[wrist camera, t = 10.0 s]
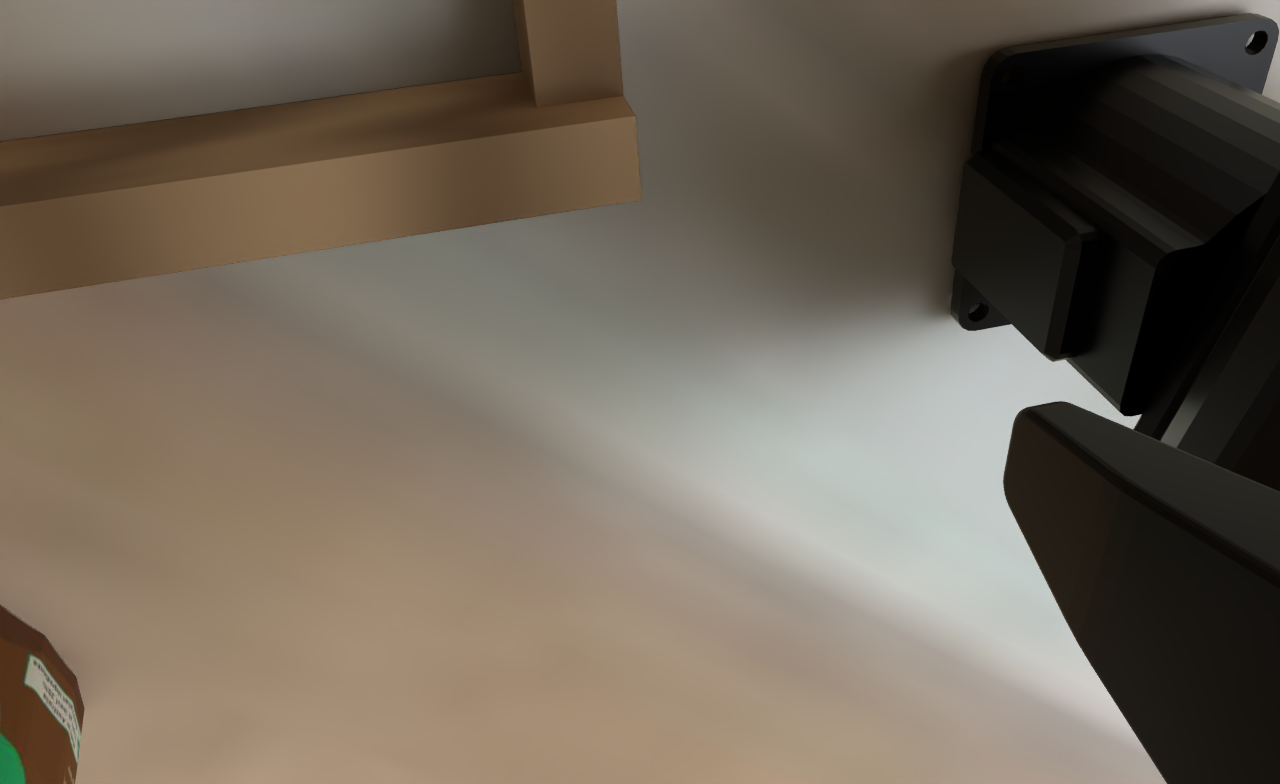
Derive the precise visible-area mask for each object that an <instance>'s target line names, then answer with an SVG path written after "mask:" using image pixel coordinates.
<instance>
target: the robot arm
mask: <svg viewBox="0 0 1280 784" xmlns="http://www.w3.org/2000/svg"><path fill="white" fill-rule="evenodd" d="M1253 33H1254V38H1253V40H1252V42H1251V43H1250V44H1249V45H1248V46H1247V47H1246V48H1245V45H1246V43H1247V41H1248V39H1249V37H1250V36H1251V35H1252V34H1253ZM1278 34H1279V29H1278V26H1277V23H1275V22H1274V21H1273V20H1272V19H1270V18H1267V17H1264V16H1262V15H1259V14H1252V13H1249V14H1242V15H1235V16H1228V17H1221V18H1213V19H1206V20H1199V21H1192V22H1185V23H1178V24H1171V25H1164V26H1157V27H1149V28H1142V29H1135V30H1128V31H1121V32H1114V33H1107V34H1100V35H1093V36H1085V37H1078V38H1071V39H1064V40H1057V41H1050V42H1043V43H1036V44H1029V45H1021V46H1014V47H1007V48H1004V49H1001V50H999V51H997V52H996V53H995V54H993V55H992V56H991V57H990V58H989V59H988V61H987V62H986V64H985V65H984V68H983V71H982V74H981V80H980V87H979V95H978V103H977V110H976V118H975V125H974V133H973V141H972V148H971V154H970V156H969V157H968V159H967V160H966V162H965V164H964V168H963V175H962V183H961V191H960V199H959V207H958V214H957V222H956V230H955V238H954V246H953V253H952V265H953V266H954V267H955V268H956V270H955V278H954V285H953V293H952V300H951V315H952V316H953V318H954V319H955V320H956V321H957V322H958V323H959V325H960V326H961V327H962V328H964V329H966V330H968V331H976V330H982V329H987V328H993V327H998V326H1004V325H1009V324H1012V325H1013V326H1014V327H1015V328H1016V329H1017V330H1018V331H1019V332H1020V333H1021V334H1022V335H1023V336H1024V337H1025V338H1026V339H1027V340H1028V341H1029V342H1030V343H1031V344H1033V345H1034V346H1035V347H1036V348H1037V349H1038V350H1039V351H1040V352H1041V353H1042V354H1043V355H1044V356H1045V357H1046V358H1047V359H1049V360H1051V361H1052V362H1054V361H1060V360H1066V361H1068V362H1069V363H1070V364H1071V365H1072V366H1073V367H1074V368H1075V369H1076V370H1077V371H1078V372H1079V373H1080V374H1081V375H1082V376H1083V377H1084V378H1085V379H1086V380H1087V381H1088V382H1089V383H1090V384H1091V385H1092V386H1093V387H1094V388H1096V389H1097V390H1098V391H1099V392H1100V393H1101V394H1102V395H1103V396H1104V397H1105V398H1106V399H1107V400H1108V401H1109V402H1110V403H1111V404H1112V405H1113V406H1114V407H1115V408H1116V409H1117V410H1118V411H1119V412H1120V413H1122V414H1123V415H1124V416H1135V415H1140V414H1142V415H1141V417H1140V419H1139V420H1138V422H1137V424H1136V426H1135V427H1134V429H1130V428H1128V427H1125V426H1123V425H1121V424H1118V423H1116V422H1114V421H1111V420H1109V419H1106V418H1104V417H1102V416H1099V415H1097V414H1095V413H1092V412H1090V411H1087V410H1085V409H1083V408H1080V407H1078V406H1076V405H1073V404H1071V403H1068V402H1062V401H1061V402H1052V403H1047V404H1042V405H1037V406H1032V407H1027V408H1025V409H1023V410H1021V411H1020V412H1019V413H1018V414H1017V416H1016V418H1015V420H1014V424H1013V428H1012V434H1011V439H1010V445H1009V450H1008V455H1007V461H1006V466H1005V471H1004V479H1003V484H1004V492H1005V496H1006V500H1007V502H1008V505H1009V507H1010V509H1011V511H1012V513H1013V515H1014V517H1015V519H1016V521H1017V523H1018V525H1019V527H1020V529H1021V531H1022V533H1023V535H1024V537H1025V539H1026V541H1027V543H1028V545H1029V547H1030V549H1031V551H1032V554H1033V556H1034V558H1035V560H1036V562H1037V564H1038V566H1039V568H1040V570H1041V572H1042V574H1043V576H1044V578H1045V580H1046V582H1047V584H1048V586H1049V588H1050V590H1051V592H1052V594H1053V596H1054V598H1055V600H1056V602H1057V604H1058V606H1059V608H1060V610H1061V612H1062V614H1063V616H1064V618H1065V620H1066V622H1067V624H1068V626H1069V628H1070V629H1071V631H1072V633H1073V635H1074V637H1075V639H1076V641H1077V642H1078V644H1079V646H1080V647H1081V649H1082V651H1083V652H1084V654H1085V656H1086V657H1087V659H1088V661H1089V662H1090V664H1091V666H1092V667H1093V669H1094V670H1095V672H1096V673H1097V675H1098V677H1099V678H1100V680H1101V681H1102V683H1103V684H1104V686H1105V687H1106V689H1107V691H1108V692H1109V694H1110V695H1111V697H1112V698H1113V700H1114V702H1115V703H1116V705H1117V706H1118V708H1119V709H1120V711H1121V712H1122V714H1123V716H1124V717H1125V719H1126V720H1127V722H1128V723H1129V725H1130V727H1131V728H1132V730H1133V731H1134V733H1135V734H1136V736H1137V737H1138V739H1139V741H1140V742H1141V744H1142V745H1143V747H1144V748H1145V750H1146V752H1147V753H1148V755H1149V756H1150V758H1151V759H1152V761H1153V762H1154V764H1155V766H1156V767H1157V769H1158V770H1159V772H1160V773H1161V775H1162V777H1163V778H1164V780H1165V781H1166V783H1167V784H1280V103H1278V102H1276V101H1274V100H1272V99H1269V98H1267V97H1265V96H1263V95H1262V92H1263V88H1264V85H1265V82H1266V78H1267V75H1268V71H1269V68H1270V65H1271V61H1272V58H1273V54H1274V51H1275V48H1276V44H1277V41H1278ZM1013 66H1015V73H1014V76H1013V77H1012V78H1011V80H1010V81H1009V82H1007V83H1005V84H1002V78H1003V76H1004V73H1005V72H1006V71H1007V70H1008V69H1009V68H1010V67H1013ZM978 303H980V305H979V307H978V308H977V309H976V310H975V311H974V312H971V313H969V311H970V309H971V308H972V307H973V306H974V305H976V304H978ZM0 721H1V704H0Z"/></svg>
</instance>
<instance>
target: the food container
mask: <svg viewBox="0 0 1280 784" xmlns="http://www.w3.org/2000/svg"><path fill="white" fill-rule="evenodd" d="M0 704H1V721H0V784H75V779H76V771H77V764H78V756H79V748H80V740H81V732H82V724H83V716H84V705H83V702H82V698H81V694H80V690H79V686H78V682H77V679H76V676H75V675H74V674H73V672H72V671H71V670H70V668H69V667H68V666H67V664H66V663H65V662H64V660H63V659H62V658H61V656H60V655H59V654H58V652H57V651H56V650H55V648H54V647H53V646H52V644H51V643H50V642H49V640H48V639H47V638H46V636H44V635H43V634H42V633H40V632H39V631H37V630H36V629H34V628H33V627H32V626H30V625H29V624H27V623H26V622H24V621H23V620H21V619H20V618H19V617H17V616H16V615H14V614H13V613H11V612H10V611H8V610H7V609H6V608H4V607H3V606H1V605H0Z"/></svg>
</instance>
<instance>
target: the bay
mask: <svg viewBox="0 0 1280 784" xmlns="http://www.w3.org/2000/svg"><path fill="white" fill-rule="evenodd" d="M513 6H514V14H515V22H516V29H517V37H518V44H519V52H520V60H521V67H522V72H518V73H510V74H503V75H496V76H488V77H481V78H473V79H466V80H458V81H451V82H443V83H436V84H429V85H421V86H414V87H406V88H399V89H391V90H384V91H377V92H369V93H362V94H354V95H347V96H339V97H332V98H325V99H317V100H310V101H302V102H295V103H287V104H280V105H272V106H265V107H258V108H250V109H243V110H235V111H228V112H220V113H213V114H206V115H198V116H191V117H183V118H176V119H168V120H161V121H154V122H146V123H139V124H131V125H124V126H116V127H109V128H101V129H94V130H87V131H79V132H72V133H64V134H57V135H49V136H42V137H35V138H27V139H20V140H12V141H5V142H0V299H6V298H13V297H19V296H26V295H32V294H39V293H45V292H51V291H58V290H64V289H71V288H77V287H84V286H90V285H97V284H103V283H109V282H116V281H122V280H129V279H135V278H142V277H148V276H155V275H161V274H168V273H174V272H180V271H187V270H193V269H200V268H206V267H213V266H219V265H226V264H232V263H239V262H245V261H251V260H258V259H264V258H271V257H277V256H284V255H290V254H297V253H303V252H309V251H316V250H322V249H329V248H335V247H342V246H348V245H355V244H361V243H368V242H374V241H380V240H387V239H393V238H400V237H406V236H413V235H419V234H426V233H432V232H439V231H445V230H451V229H458V228H464V227H471V226H477V225H484V224H490V223H497V222H503V221H509V220H516V219H522V218H529V217H535V216H542V215H548V214H555V213H561V212H568V211H574V210H580V209H587V208H593V207H600V206H606V205H613V204H619V203H626V202H632V201H639V200H641V186H640V171H639V156H638V141H637V127H636V115H635V114H634V112H633V111H632V109H631V107H630V106H629V104H628V103H627V101H626V100H625V98H624V96H623V86H622V72H621V59H620V46H619V32H618V19H617V5H616V0H513Z"/></svg>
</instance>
